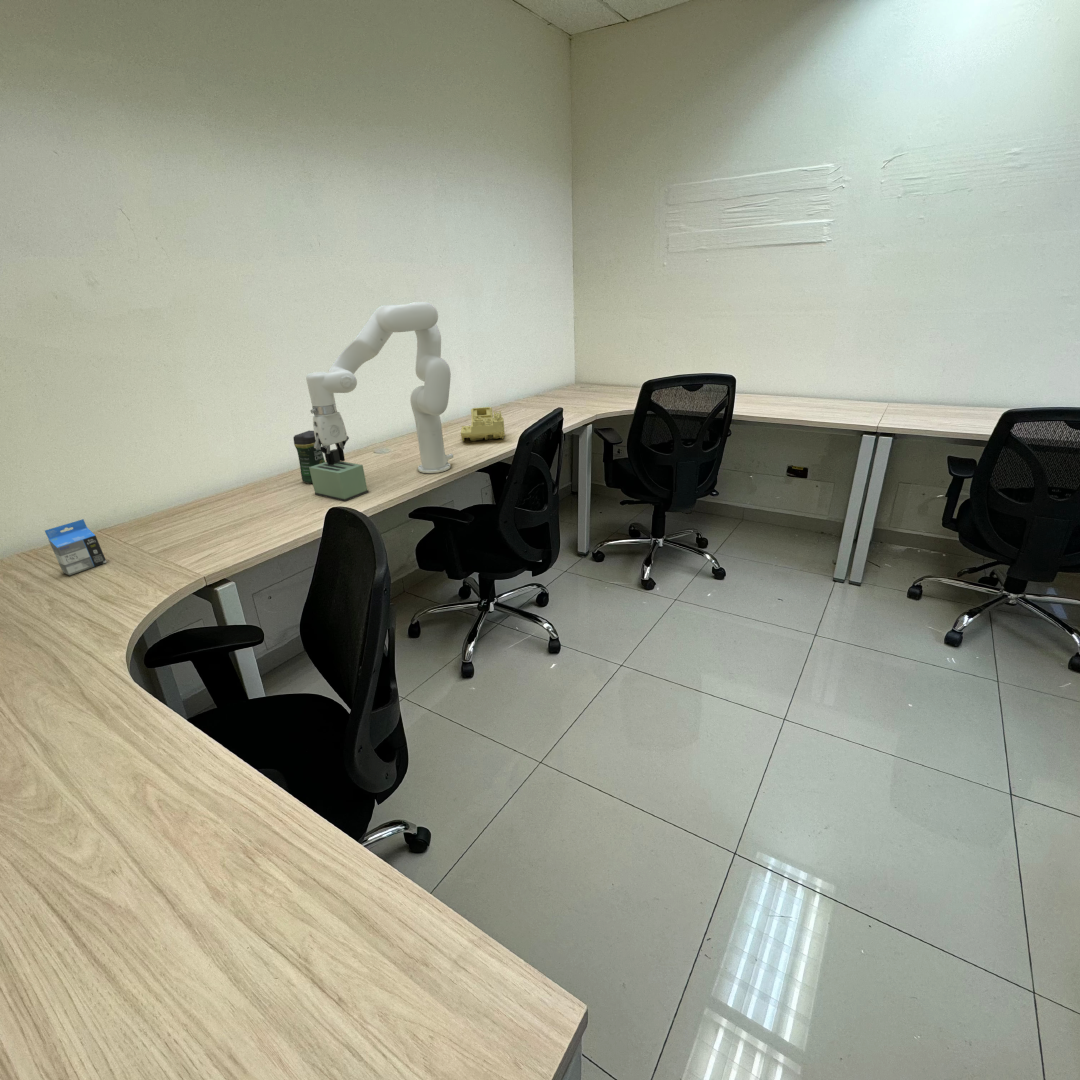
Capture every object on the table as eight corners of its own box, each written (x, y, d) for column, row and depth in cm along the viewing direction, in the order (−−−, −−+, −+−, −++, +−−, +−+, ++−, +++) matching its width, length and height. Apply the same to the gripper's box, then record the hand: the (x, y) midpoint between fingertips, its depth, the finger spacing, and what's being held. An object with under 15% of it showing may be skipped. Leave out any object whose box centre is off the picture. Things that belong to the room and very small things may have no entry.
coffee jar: (316, 484, 205) (305, 435, 197) (299, 483, 207) (287, 434, 200) (333, 476, 213) (323, 429, 205) (316, 475, 216) (305, 428, 208)
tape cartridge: (69, 576, 144) (49, 533, 139) (63, 573, 146) (43, 530, 141) (107, 562, 151) (89, 521, 146) (101, 559, 153) (83, 518, 148)
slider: (336, 460, 196) (334, 449, 194) (340, 460, 195) (338, 449, 193) (331, 461, 194) (328, 450, 192) (334, 462, 193) (332, 451, 191)
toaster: (338, 485, 202) (332, 459, 198) (368, 492, 194) (362, 464, 190) (315, 494, 195) (308, 467, 191) (345, 501, 187) (339, 472, 182)
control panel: (456, 405, 259) (498, 398, 261) (463, 436, 268) (503, 428, 269) (458, 424, 240) (503, 416, 241) (465, 456, 249) (508, 448, 250)
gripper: (311, 415, 179) (323, 470, 186) (352, 406, 191) (361, 457, 199) (296, 414, 182) (309, 467, 190) (337, 404, 195) (348, 455, 203)
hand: (335, 461), depth 194 cm, fingers open, 3 cm apart
